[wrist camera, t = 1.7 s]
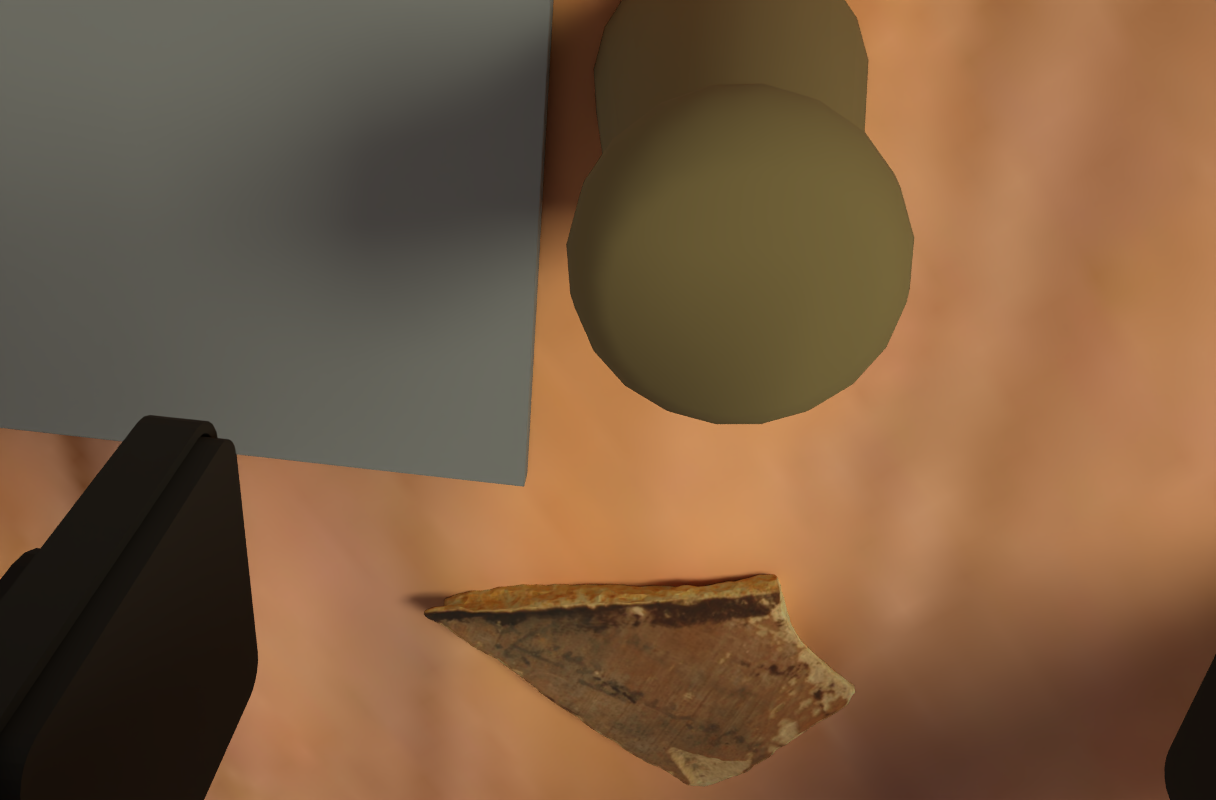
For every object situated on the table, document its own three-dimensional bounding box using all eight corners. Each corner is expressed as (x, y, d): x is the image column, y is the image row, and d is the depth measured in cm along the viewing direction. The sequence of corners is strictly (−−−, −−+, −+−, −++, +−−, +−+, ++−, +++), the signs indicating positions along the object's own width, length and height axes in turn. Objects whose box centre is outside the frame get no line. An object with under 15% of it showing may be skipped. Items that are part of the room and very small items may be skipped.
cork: (927, 79, 25) (1055, 306, 16) (729, 264, 28) (738, 552, 18) (729, -125, 23) (742, -7, 14) (537, 92, 26) (438, 315, 17)
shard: (432, 580, 34) (419, 622, 33) (601, 424, 31) (595, 462, 29) (699, 763, 37) (698, 809, 36) (878, 639, 34) (886, 683, 33)
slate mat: (563, -184, 23) (560, -181, 22) (526, 473, 31) (523, 486, 31) (-416, -280, 23) (-441, -280, 23) (-195, 392, 32) (-210, 404, 31)
